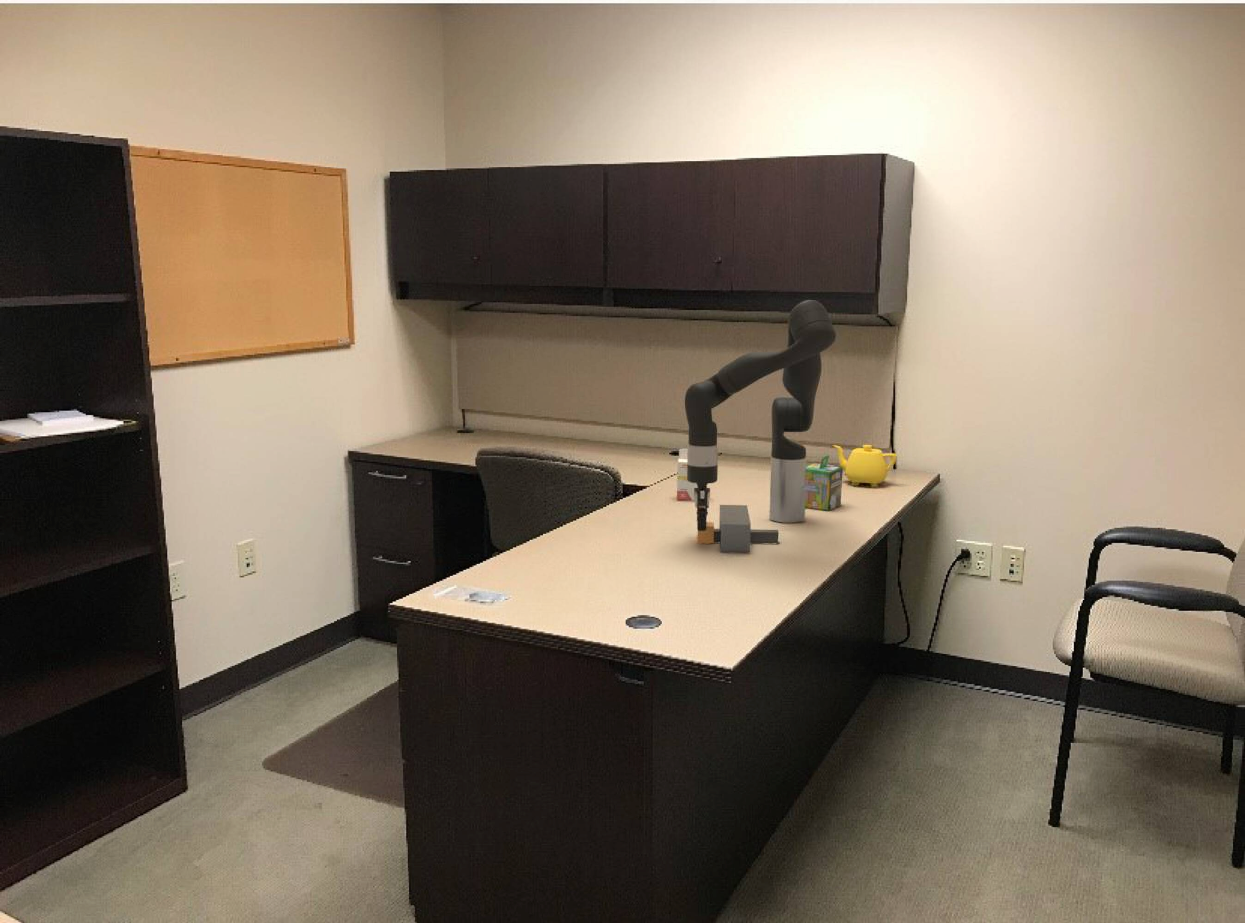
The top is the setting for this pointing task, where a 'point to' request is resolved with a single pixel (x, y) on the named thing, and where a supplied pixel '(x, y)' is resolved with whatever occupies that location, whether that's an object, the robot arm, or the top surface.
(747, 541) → the mallet head
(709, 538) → the plug
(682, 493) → the ink cartridge box
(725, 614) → the top surface
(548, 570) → the top surface
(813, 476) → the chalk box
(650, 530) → the top surface
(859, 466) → the teapot
